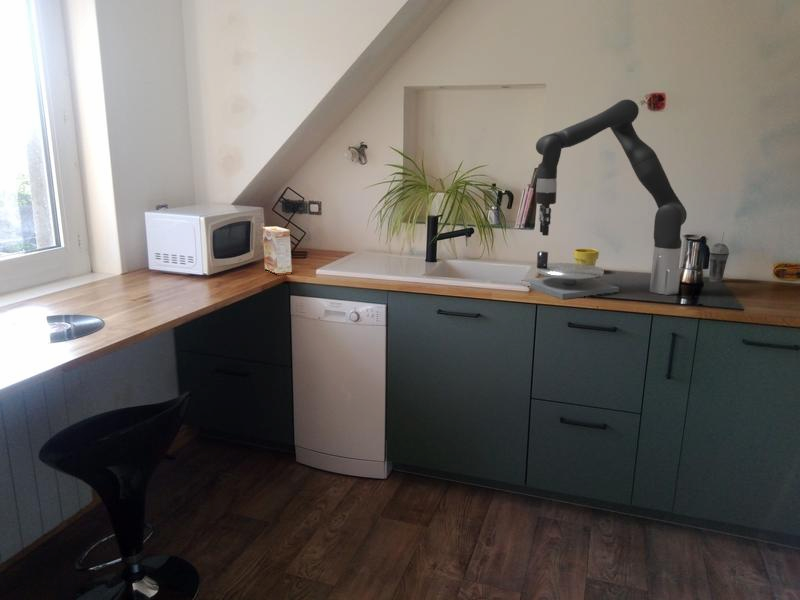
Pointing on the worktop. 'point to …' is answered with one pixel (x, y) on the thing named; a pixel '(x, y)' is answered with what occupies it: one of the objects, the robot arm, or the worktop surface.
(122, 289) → the worktop surface
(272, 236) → the coffeecake box
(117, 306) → the worktop surface
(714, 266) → the beverage cup
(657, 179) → the robot arm
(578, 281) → the wheel base
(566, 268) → the handwheel
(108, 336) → the worktop surface
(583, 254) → the plant pot
